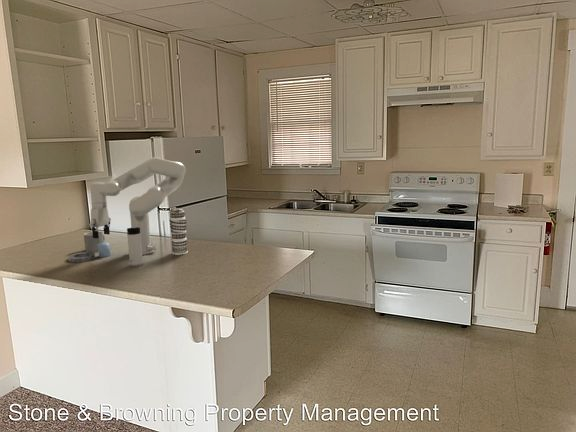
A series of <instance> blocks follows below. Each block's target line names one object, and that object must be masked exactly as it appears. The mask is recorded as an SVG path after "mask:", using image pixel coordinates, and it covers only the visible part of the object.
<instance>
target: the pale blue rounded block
mask: <svg viewBox="0 0 576 432" xmlns="http://www.w3.org/2000/svg"><path fill="white" fill-rule="evenodd" d="M97 253H98V258H109V257H111V255H112V254H111V246H110V242H108V241H106V242H105V241H104V243H99V244H98V252H97Z"/></svg>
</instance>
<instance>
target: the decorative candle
mask: <svg viewBox="0 0 576 432" xmlns="http://www.w3.org/2000/svg"><path fill="white" fill-rule="evenodd" d="M169 213H170V219H169V222H170V223H169V226H170V227H169V228H170V234H171V243H172V244H171V246H172V247H171V249H172V250H171V251H172V255H174V254H175V255H176V256H180V255H182V254H183V255H187V254H188V252H189V251H188V249H189V248H188V247H189V246H188V240H187V225H186V224H187V219H186V215H185V210H184V209H183V208H181V207H176V208H175V207H174V208H172V209H171V210H170V211H169Z"/></svg>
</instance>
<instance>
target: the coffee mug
mask: <svg viewBox="0 0 576 432" xmlns="http://www.w3.org/2000/svg"><path fill="white" fill-rule="evenodd" d="M97 231H98V230H97ZM98 235H99V238H98V239H97V238H93V234H92V231H88V232H84V234H83V239H84V248H85V249H84V250H85V252H93V253H99V252H98V244H99V243H104V242H105V239H106V238H105V234H104V231H103V232H102V231H98Z"/></svg>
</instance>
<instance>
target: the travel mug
mask: <svg viewBox="0 0 576 432" xmlns="http://www.w3.org/2000/svg"><path fill="white" fill-rule="evenodd" d="M126 233H127V245H128V247H127V248H128V257H129V258H128V259H129V266H130V267H131V268H137V267H142V266H143V265H144V259H143V257H144V256H143V255H142V246H141V234H140V227H136V228H131V227H128V228H126Z"/></svg>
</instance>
